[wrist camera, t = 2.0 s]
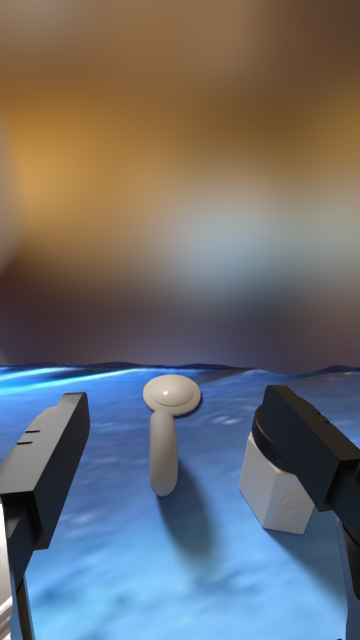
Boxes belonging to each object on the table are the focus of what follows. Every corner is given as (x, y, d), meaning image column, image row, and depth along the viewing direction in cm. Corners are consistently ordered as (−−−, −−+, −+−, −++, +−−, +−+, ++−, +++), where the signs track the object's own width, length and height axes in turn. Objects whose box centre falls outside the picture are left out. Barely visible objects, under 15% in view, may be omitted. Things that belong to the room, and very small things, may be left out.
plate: (194, 376, 52) (194, 372, 52) (206, 414, 40) (207, 409, 39) (144, 378, 50) (144, 374, 50) (141, 418, 38) (141, 413, 38)
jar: (243, 527, 23) (261, 453, 20) (234, 460, 31) (245, 397, 27) (324, 542, 22) (358, 466, 19) (293, 469, 30) (313, 405, 26)
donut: (178, 514, 24) (182, 454, 21) (150, 519, 24) (149, 458, 20) (169, 441, 34) (171, 393, 30) (149, 443, 33) (149, 394, 30)
